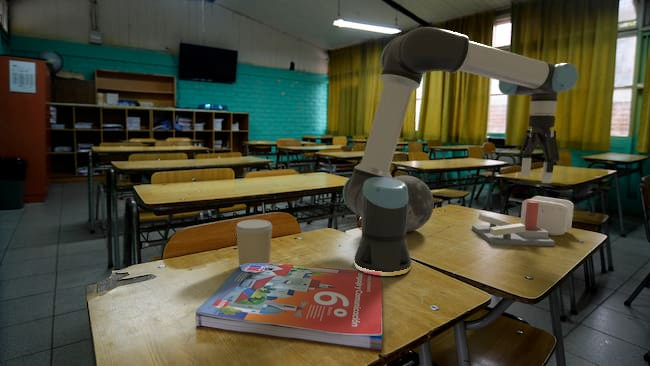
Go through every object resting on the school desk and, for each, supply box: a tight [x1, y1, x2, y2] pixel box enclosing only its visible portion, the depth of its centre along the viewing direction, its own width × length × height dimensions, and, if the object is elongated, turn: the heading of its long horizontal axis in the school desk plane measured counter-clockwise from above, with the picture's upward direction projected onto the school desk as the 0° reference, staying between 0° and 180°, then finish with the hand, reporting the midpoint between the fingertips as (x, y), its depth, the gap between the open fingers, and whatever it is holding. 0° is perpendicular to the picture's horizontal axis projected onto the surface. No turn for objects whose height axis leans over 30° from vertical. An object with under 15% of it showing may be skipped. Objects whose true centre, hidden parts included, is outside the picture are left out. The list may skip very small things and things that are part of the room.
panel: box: [471, 223, 556, 247], centre depth 131 cm, size 20×18×4 cm
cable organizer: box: [519, 195, 575, 236], centre depth 139 cm, size 15×11×12 cm
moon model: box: [392, 174, 435, 233], centre depth 136 cm, size 20×20×20 cm
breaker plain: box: [477, 213, 511, 226], centre depth 136 cm, size 10×3×2 cm, turn 90°
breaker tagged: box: [490, 222, 526, 236], centre depth 125 cm, size 10×3×2 cm, turn 88°
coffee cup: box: [235, 218, 273, 266], centre depth 100 cm, size 9×9×12 cm
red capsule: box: [525, 201, 539, 231], centre depth 130 cm, size 4×4×11 cm
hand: (535, 179), depth 127 cm, fingers open, 13 cm apart
